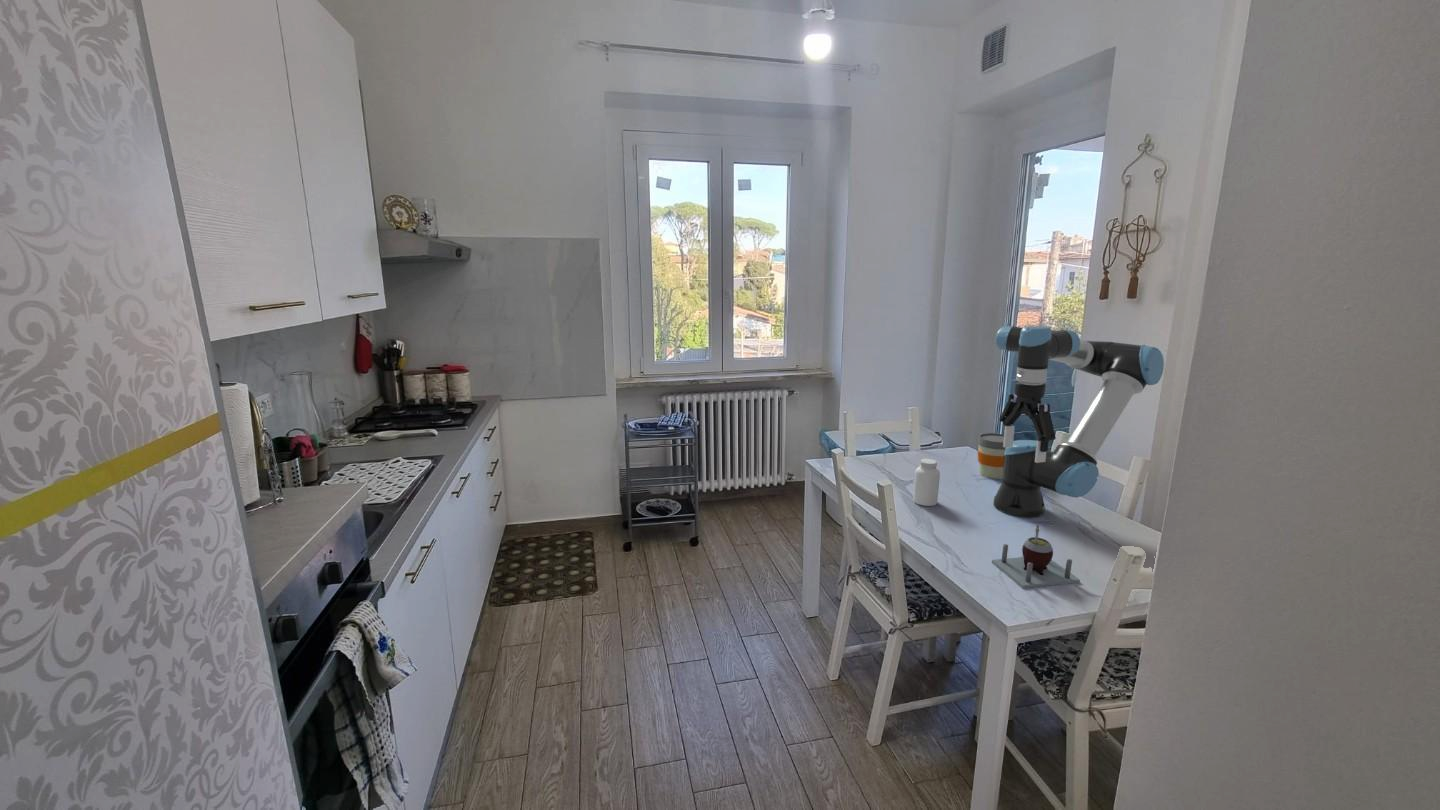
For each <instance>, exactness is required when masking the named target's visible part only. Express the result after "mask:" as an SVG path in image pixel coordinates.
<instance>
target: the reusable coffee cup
mask: <svg viewBox="0 0 1440 810" xmlns="http://www.w3.org/2000/svg"><path fill="white" fill-rule="evenodd" d="M1003 441H1004V433H1003V434H1002V433H997V432H995V433H993V432H989V433H988V432H985V433H984V432H983V433H980V434H979V436H978V439H977V444H978V445H977V446H978V449H977V462H978V463H979V464H978V466H979V475H980V476H982V477H984V478H987V479H995V480H998V479H999V480H1000V479H1001V480H1002V475H1003V465H1004V453H1005V449H1006V447H1003ZM1013 441H1015V439H1014V438H1013Z"/></svg>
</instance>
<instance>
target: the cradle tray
mask: <svg viewBox="0 0 1440 810" xmlns="http://www.w3.org/2000/svg"><path fill="white" fill-rule="evenodd" d="M1008 551H1009V545H1008V544H1006V543H1004V544H1003V545H1002V554H1001V558H1000V559H999V558H998V559H992V560H991V563H992V564H993V565H994V566H996V567H997V568H998V569H999V570H1000V571H1002V572H1003V574H1004V575H1006V576H1007V577H1008V578H1010V579H1011V580H1012V581H1013V582H1014V583H1016V584H1017V585H1018V586H1019V587H1020V588H1022V589H1027V588H1036V587H1047V586H1058V585H1067V584H1068V585H1069V584H1078V583H1081V582H1080V581H1081V579H1079V577H1077V576H1076V575H1074V574H1072V572H1071V571H1072V565H1073V559H1071V558H1066V563H1065V568H1064V567H1063V566H1062V565H1061V564H1059V563H1057V562H1056V561H1054V560H1053V558H1052V559H1051V561H1050V563H1049V564H1048V565H1047V566H1046V567H1047V569H1044V570H1043V573H1044V574H1043V575H1040V574H1039V573H1038V572H1036V571H1035V570H1032V568H1033V564H1032V563H1030V562H1029V563H1028V564H1027V570H1024V568H1023V567H1025V565H1024V557H1023V556H1021V557H1009V558H1008Z"/></svg>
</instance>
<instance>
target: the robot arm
mask: <svg viewBox="0 0 1440 810" xmlns="http://www.w3.org/2000/svg"><path fill="white" fill-rule="evenodd" d="M994 340H995V342H994V343H995V345H996V348H998V349H999V350H1002V351H1006V352H1012V353H1018V355H1017V364H1016V366H1017V367H1016V375H1015V376H1016V377H1015V380H1016V382H1015V383H1014V384H1015V385H1014V393H1012V394H1011V393H1010V394H1009V395H1008V399H1007V400H1008V401H1007V402H1006V404H1005V407H1004V409H1003V411H1002V413H1001V414H1000V416H999V418H998V419H999V422H1002V425H1003V435H1004V441H1003V447H1006V449H1005V453H1004V465H1003V475H1002V478H1001V483H1000V486H999V488H998V490H997V492H996V494H995V496H994V497H993V507H995V508H996V509H997V510H998V511H1000V512H1002V513H1004V514H1008V515H1011V516H1015V517H1022V518H1036V517H1040V516H1042V515H1044V514H1045V510H1046V509H1045V508H1046V507H1045V501H1044V498H1043V492H1042V488H1044V489H1047V490H1049V491H1052V492H1055V493H1058V495H1062V496H1067V497H1071V498H1076V499H1078V498H1081V497H1083V496H1086V495H1087V494H1088V493H1090V492H1091V490H1093V488H1094V487H1095V486H1096V484H1097V482H1098V477H1099V474H1100V473H1099V468H1098V466H1097V465H1098V461H1097V458H1096V456H1097V453H1098V452H1099V450H1100V449H1101V447H1102V446H1103V444H1104V442H1105V441H1106V439H1107V438H1108V436H1109V435H1110V433H1111V431H1112V430H1113V429H1114V426H1115V425H1116V423H1117V421H1118V420H1119V419H1120V417H1121V416H1122V414H1123V412H1124V410H1125V409H1126V407H1127V405H1128V404H1129V402H1130V400H1131V399H1132V398H1133V396H1134V395H1138V394H1140V393H1142V392H1143V390H1144V389H1145V387H1146V386H1154V385H1156V384H1158V383H1159V381H1161V378H1162V376H1163V372H1164V369H1165V366H1164V364H1165V360H1164V356H1163V353H1162V351H1161V350H1160V349H1159V348H1158V347H1156V346H1149V345H1146V344H1142V345H1139V344H1131V343H1124V342H1123V343H1122V342H1116V341H1115V342H1113V341H1101V340H1100V341H1099V340H1098V341H1097V340H1095V341H1094V340H1093V341H1092V340H1085V339H1081V338H1080V336H1079V335H1078V333H1076V332H1075V331H1073V330H1071V329H1066V330H1065V329H1060V330H1052V328H1050V327H1047V326H1043V325H1034V326H1032V325H1031V326H1030V325H1027V326H1024V327H1023V326H1022V327H1019V326H1014V325H1011V326H1008V325H1005V326H1001V328H999V329H998V331H997V332H996V335H995V339H994ZM1049 360H1050V361H1054V362H1058V363H1062V364H1065V365H1066V366H1068V367H1069V368H1071V369H1075V370H1078V371H1080V372H1081V371H1082V372H1084V373H1088V374H1090V375H1093V376H1097V377H1101V379H1102V381H1103V383H1102V384H1101V386H1100V387H1099V389H1098V390H1097V393H1096V394H1095V396H1094V397H1093V399H1092V400H1091V402H1090V404H1089V405H1088V407H1087V408H1086V409H1085V412H1084V413H1083V414H1082V416H1081V418H1080V420H1079V421H1078V422H1077V424H1076V426H1075V427H1074V428H1073V431H1072V432H1071V434H1070V436H1069V437H1068V438H1067V440H1066V441H1065V442H1064V443H1063V442H1061V443H1058V444H1057V446H1056V447H1055V449H1054V450H1053V451H1051V450H1049V441H1054V440H1056V439H1057V437H1056V434H1055V429H1054V428H1055V427H1054V424H1053V420H1052V415H1051V404H1050V403H1042V399H1043V398H1044V397H1045V394H1046V386H1047V385H1046V384H1045V383H1046V382H1047V377H1048V366H1049V365H1048V364H1049ZM1021 415H1025V416H1027V417H1028V418H1029V419H1030V420H1031V422H1032V423H1033V426H1034V429H1035V431H1036V434H1037V437H1038V438H1037V439H1036V440H1031V439H1030V440H1029V439H1019V440H1014V441H1013V439H1014V438H1015V436H1014V435H1015V428H1016V427H1015V423H1016V421H1017V420H1018V419H1019V418H1020V416H1021Z"/></svg>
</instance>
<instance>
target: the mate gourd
mask: <svg viewBox="0 0 1440 810" xmlns="http://www.w3.org/2000/svg"><path fill="white" fill-rule="evenodd" d="M1035 527H1036V528H1035V537H1034V536H1033V537H1029V538H1027V539H1026V540H1025V541H1024V543H1023V545H1022V548H1021V552H1022V557H1024V565H1025V567H1023V568H1024V570H1027V564H1028V563H1029V562H1030V563H1032V564H1033V568H1032V570H1035V571H1036V572H1038V573H1039V574H1040V575H1043V574H1044V573H1043V570H1044V569H1047V567H1046V566H1047V565H1048V564H1049V563H1050V561H1051V559H1052V560H1053V557H1054V550H1053V549H1054V548H1053V546H1052V544H1051V543H1050V542H1049V540H1046V539H1044V538H1041V537H1039V533H1040V528H1039V527H1040V526H1039V524H1036V526H1035Z"/></svg>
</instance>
